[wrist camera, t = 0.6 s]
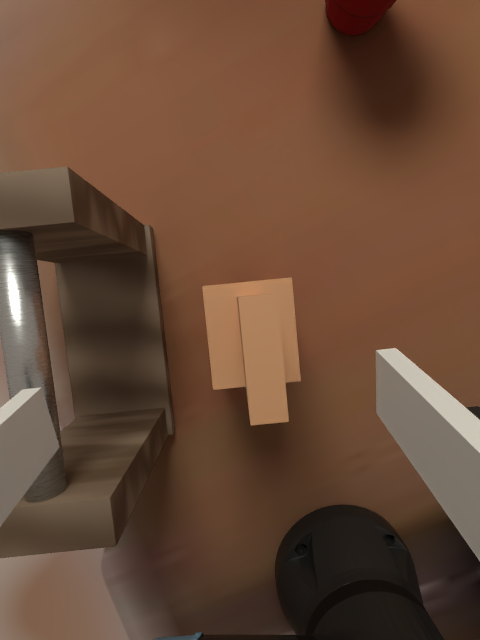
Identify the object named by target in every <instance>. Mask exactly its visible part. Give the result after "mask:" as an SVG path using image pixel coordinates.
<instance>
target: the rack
mask: <svg viewBox="0 0 480 640" xmlns="http://www.w3.org/2000/svg"><path fill="white" fill-rule="evenodd" d="M37 260H42V261H48V262H54V263H55V269H56V276H57V284H58V291H59V299H60V306H61V314H62V321H63V329H64V336H65V344H66V351H67V359H68V367H69V374H70V382H71V389H72V397H73V404H74V412H75V420H74V421H73V422H72V423H70V424H69V425H68V426H67V427H65V428H64V429H63V430H62V431H60V427H59V420H58V413H57V405H56V398H55V391H54V383H53V376H52V369H51V361H50V354H49V347H48V339H47V332H46V325H45V317H44V310H43V303H42V295H41V288H40V281H39V274H38V266H37ZM0 335H1V342H2V349H3V356H4V363H5V370H6V377H7V383H8V390H9V396H10V400H11V399H12V398H13V397H14V396H15V395H17V394H18V393H19V392H20V391H21V390H22V389H31V388H40V387H42V390H43V394H44V397H45V400H46V403H47V407H48V410H49V413H50V417H51V420H52V423H53V427H54V430H55V433H56V436H57V440H58V443H59V446H60V447H59V449H58V450H57V451H56V453H55V454H54V455H53V457H52V458H51V459H50V461H49V462H48V463H47V465H46V466H45V467H44V469H43V470H42V471H41V473H40V474H39V475H38V477H37V478H36V479H35V481H34V482H33V483H32V485H31V486H30V488H29V489H28V490H27V492H26V493H25V494H24V496H23V497H22V498H21V500H20V501H19V502H18V504H17V505H16V506H15V508H14V509H13V510H12V512H11V513H10V514H9V516H8V517H7V518H6V520H5V521H4V523H3V524H2V525H1V527H0V558H6V557H15V556H26V555H36V554H45V553H55V552H65V551H74V550H83V549H94V548H104V547H113V546H116V545H117V543H118V541H119V539H120V537H121V534H122V532H123V530H124V528H125V526H126V524H127V522H128V520H129V517H130V515H131V513H132V511H133V509H134V507H135V505H136V503H137V500H138V498H139V496H140V494H141V492H142V490H143V488H144V486H145V483H146V481H147V479H148V477H149V475H150V473H151V471H152V469H153V466H154V464H155V462H156V460H157V458H158V456H159V454H160V451H161V449H162V447H163V445H164V443H165V441H166V439H167V437H168V435H173V433H174V431H175V423H174V414H173V405H172V397H171V388H170V379H169V370H168V361H167V352H166V343H165V335H164V326H163V317H162V308H161V299H160V290H159V281H158V273H157V264H156V255H155V246H154V237H153V228H152V227H151V226H150V225H143V224H142V223H140V222H139V221H138V220H136V219H135V218H134V217H132V216H131V215H130V214H129V213H127V212H126V211H125V210H123V209H122V208H121V207H119V206H118V205H117V204H115V203H114V202H113V201H112V200H110V199H109V198H108V197H106V196H105V195H104V194H102V193H101V192H100V191H98V190H97V189H96V188H95V187H93V186H92V185H91V184H89V183H88V182H87V181H85V180H84V179H83V178H81V177H80V176H79V175H78V174H76V173H75V172H74V171H72V170H71V169H70V168H68V167H60V168H49V169H38V170H28V171H17V172H7V173H0Z"/></svg>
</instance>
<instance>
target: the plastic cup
mask: <svg viewBox="0 0 480 640" xmlns="http://www.w3.org/2000/svg"><path fill="white" fill-rule="evenodd" d="M395 1H396V0H325V2H326V11H327V17H328V19H329V21H330V22H331V24H332V26H333V27H334V28H335V29H337V30H338V31H339V32H341V33H343V34H347V35H351V36H354V35H359V34H363V33H365V32H366V31H368V30H369V29H371V28H372V27H373V26H374V25H376V24H377V22H378V21H379V20H380V18H381V17H382V16H383V15H384V13H385V12H386V11H387V9H389V8H390V7H391V6H392V5H393V4H394V3H395Z"/></svg>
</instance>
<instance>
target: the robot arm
mask: <svg viewBox="0 0 480 640" xmlns="http://www.w3.org/2000/svg"><path fill="white" fill-rule="evenodd" d="M376 413H377V415H378V416H379V418H380V419H381V420H382V422H383V423H384V425H385V426H386V428H387V429H388V430H389V432H390V433H391V435H392V436H393V438H394V439H395V440H396V442H397V443H398V445H399V446H400V448H401V449H402V450H403V452H404V453H405V455H406V456H407V458H408V459H409V461H410V462H411V463H412V465H413V466H414V468H415V469H416V471H417V472H418V473H419V475H420V476H421V478H422V479H423V481H424V482H425V483H426V485H427V486H428V488H429V489H430V491H431V492H432V493H433V495H434V496H435V498H436V499H437V501H438V502H439V503H440V505H441V506H442V508H443V509H444V511H445V512H446V513H447V515H448V516H449V518H450V519H451V521H452V522H453V524H454V525H455V526H456V528H457V529H458V531H459V532H460V534H461V535H462V536H463V538H464V539H465V541H466V542H467V544H468V545H469V546H470V548H471V549H472V551H473V552H474V554H475V555H476V556H477V558H478V559H479V561H480V407H478V406H476V407H467V408H465V407H464V406H463V405H462V404H461V403H460V402H458V401H457V400H456V399H455V398H454V397H453V396H451V395H450V394H449V393H448V392H447V391H446V390H444V389H443V388H442V387H441V386H440V385H438V384H437V383H436V382H435V381H434V380H433V379H431V378H430V377H429V376H428V375H427V374H426V373H424V372H423V371H422V370H421V369H420V368H419V367H417V366H416V365H415V364H414V363H413V362H412V361H410V360H409V359H408V358H407V357H406V356H405V355H403V354H402V353H401V352H400V351H399V350H398V349H396V348H392V349H383V350H376ZM59 447H60V446H59V443H58V440H57V436H56V433H55V430H54V427H53V423H52V420H51V417H50V413H49V410H48V407H47V403H46V400H45V397H44V394H43V390H42V387H40V388H31V389H22V390H21V391H20V392H19V393H18V394H17V395H15V396H14V397H13V398H12V399H11V400H9V401H8V402H7V403H6V404H5V405H3V406H2V407H1V408H0V527H1V525H2V524H3V523H4V521H5V520H6V518H7V517H8V516H9V514H10V513H11V512H12V510H13V509H14V508H15V506H16V505H17V504H18V502H19V501H20V500H21V498H22V497H23V496H24V494H25V493H26V492H27V490H28V489H29V488H30V486H31V485H32V483H33V482H34V481H35V479H36V478H37V477H38V475H39V474H40V473H41V471H42V470H43V469H44V467H45V466H46V465H47V463H48V462H49V461H50V459H51V458H52V457H53V455H54V454H55V453H56V451H57V450H58V449H59ZM275 578H276V585H277V591H278V596H279V600H280V603H281V606H282V609H283V611H284V613H285V615H286V617H287V619H288V620H289V622H290V624H291V626H292V628H293V629H294V631H295V633H296V635H203V633H202V632H196V633H195V634H194V635H189V636H174V637H160V638H156V639H154V640H444V639H443V637H442V635H441V634H440V632H439V631H438V629H437V627H436V626H435V624H434V622H433V621H432V619H431V618H430V616H429V614H428V613H427V611H426V610H425V608H424V606H423V601H422V597H421V593H420V588H419V584H418V580H417V575H416V571H415V567H414V563H413V560H412V557H411V555H410V553H409V551H408V549H407V547H406V545H405V544H404V542H403V541H402V539H401V538H400V536H399V535H398V533H397V532H396V531H395V529H394V528H393V527H392V526H391V525H390V524H389V523H388V522H387V521H386V520H385V519H384V518H382V517H381V516H379V515H378V514H376V513H374V512H372V511H370V510H368V509H365V508H362V507H358V506H352V505H334V506H328V507H324V508H321V509H318V510H316V511H314V512H311V513H310V514H308V515H306V516H305V517H303V518H302V519H300V520H299V521H298V522H297V523H296V524H295V525H294V526H293V527H292V528H291V529H290V530H289V531H288V533H287V534H286V536H285V537H284V539H283V541H282V542H281V545H280V547H279V550H278V553H277V556H276V562H275Z"/></svg>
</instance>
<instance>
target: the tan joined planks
mask: <svg viewBox="0 0 480 640" xmlns="http://www.w3.org/2000/svg"><path fill="white" fill-rule="evenodd" d="M202 288H203V297H204V307H205V316H206V326H207V336H208V345H209V355H210V364H211V374H212V384H213V390H217V389H227V388H237V387H246V393H247V401H248V409H249V417H250V425H261V424H271V423H281V422H289V418H288V406H287V395H286V384H285V383H287V382H297V381H301V378H300V367H299V355H298V343H297V332H296V320H295V309H294V297H293V286H292V278H282V279H271V280H261V281H251V282H240V283H230V284H220V285H210V286H202Z"/></svg>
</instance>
